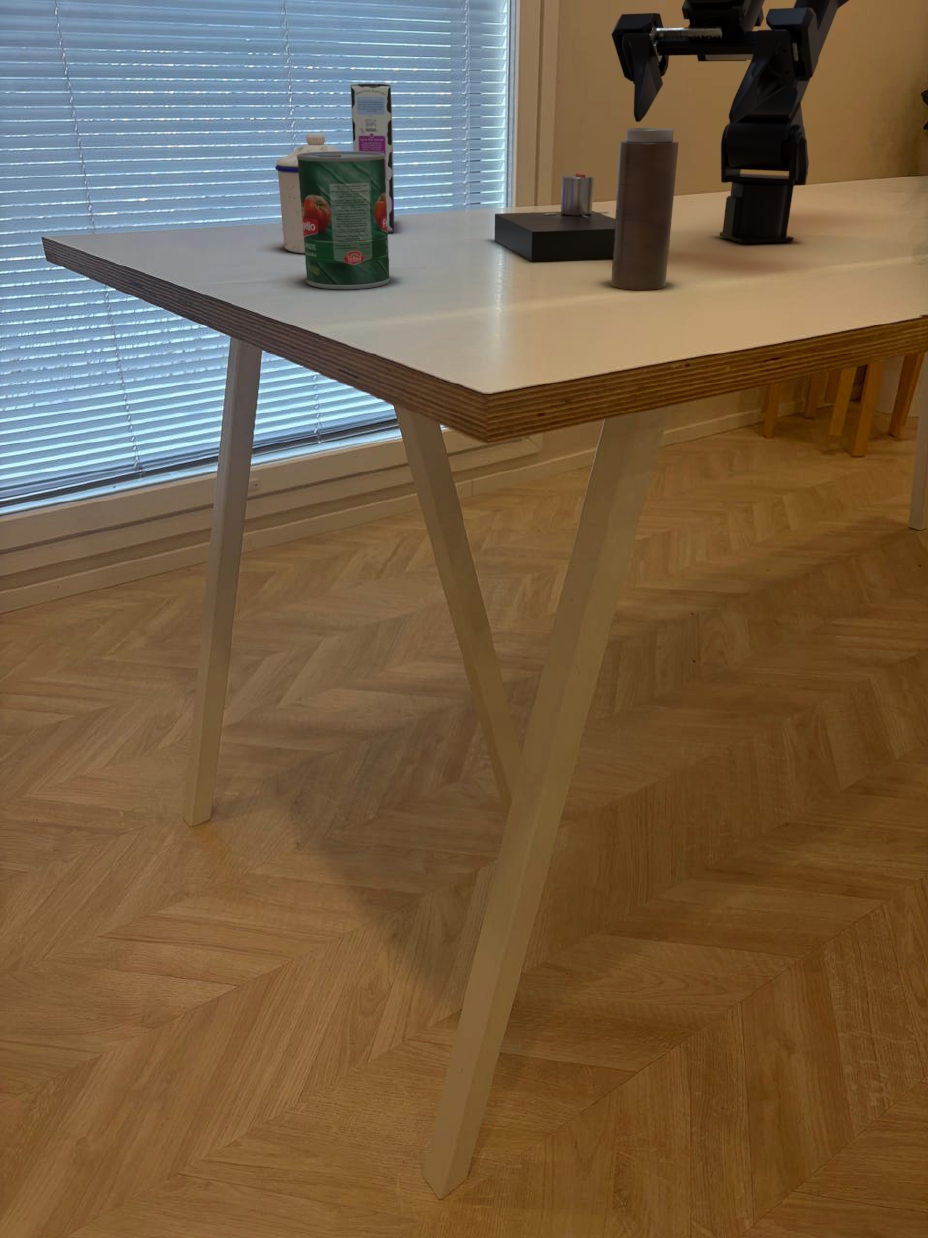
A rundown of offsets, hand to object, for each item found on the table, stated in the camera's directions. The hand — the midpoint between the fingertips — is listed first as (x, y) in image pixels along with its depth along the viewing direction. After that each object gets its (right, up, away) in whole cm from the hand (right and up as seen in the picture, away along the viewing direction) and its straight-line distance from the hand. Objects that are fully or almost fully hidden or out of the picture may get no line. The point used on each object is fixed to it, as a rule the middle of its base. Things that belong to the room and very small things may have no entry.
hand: (682, 118), depth 91 cm
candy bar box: (-31, +4, +37) cm, 49 cm away
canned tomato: (-31, -14, +3) cm, 34 cm away
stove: (-9, -4, +20) cm, 23 cm away
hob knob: (-7, +1, +24) cm, 25 cm away
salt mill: (-4, -15, +1) cm, 16 cm away
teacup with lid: (-36, -3, +23) cm, 43 cm away
